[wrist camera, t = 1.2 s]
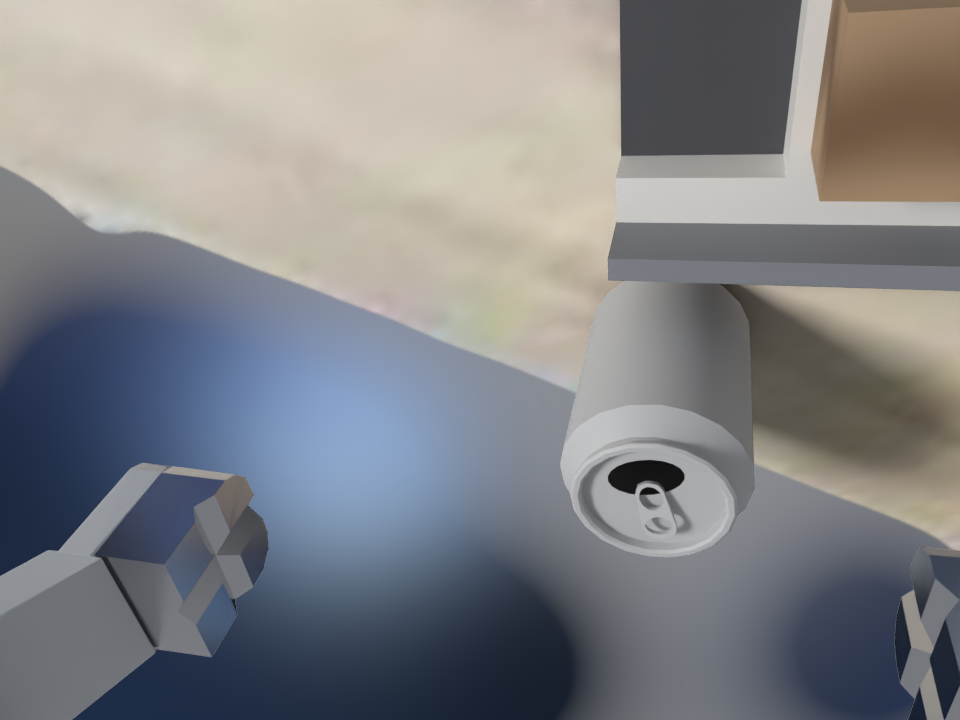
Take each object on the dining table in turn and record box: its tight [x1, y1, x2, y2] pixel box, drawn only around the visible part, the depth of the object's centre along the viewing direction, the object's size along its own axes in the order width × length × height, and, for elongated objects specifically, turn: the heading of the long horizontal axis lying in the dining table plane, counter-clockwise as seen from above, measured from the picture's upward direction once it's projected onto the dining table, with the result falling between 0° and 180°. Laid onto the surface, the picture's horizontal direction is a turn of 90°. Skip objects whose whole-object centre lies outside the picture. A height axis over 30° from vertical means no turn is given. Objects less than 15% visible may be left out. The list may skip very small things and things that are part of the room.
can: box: [560, 281, 755, 557], centre depth 34 cm, size 8×8×12 cm
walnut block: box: [811, 0, 960, 202], centre depth 25 cm, size 6×6×4 cm
